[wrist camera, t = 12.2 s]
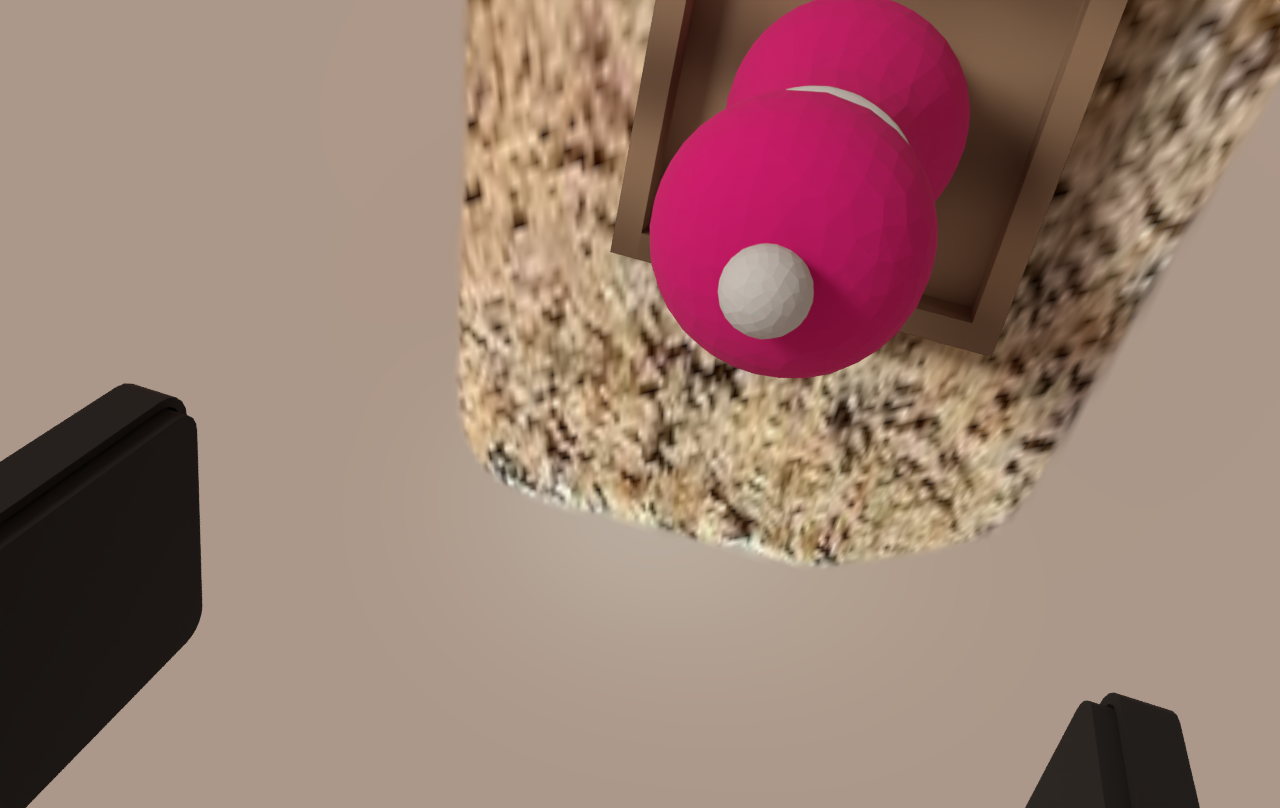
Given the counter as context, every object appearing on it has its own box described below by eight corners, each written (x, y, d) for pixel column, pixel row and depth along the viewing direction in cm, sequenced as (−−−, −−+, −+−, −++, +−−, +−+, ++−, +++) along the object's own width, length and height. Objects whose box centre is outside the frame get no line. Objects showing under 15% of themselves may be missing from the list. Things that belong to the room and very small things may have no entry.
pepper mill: (1002, 10, 35) (1033, 168, 17) (929, 223, 38) (894, 532, 21) (781, -45, 36) (602, 54, 18) (729, 168, 39) (539, 420, 22)
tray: (704, -173, 35) (686, -174, 33) (1143, -79, 33) (1156, -74, 31) (628, 231, 42) (610, 251, 40) (990, 329, 40) (991, 357, 38)
